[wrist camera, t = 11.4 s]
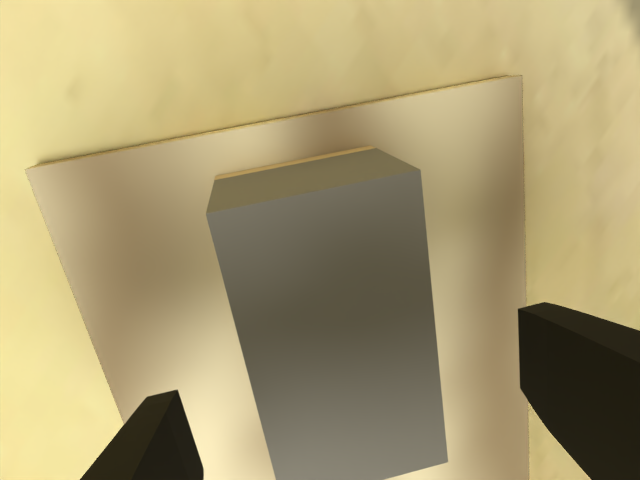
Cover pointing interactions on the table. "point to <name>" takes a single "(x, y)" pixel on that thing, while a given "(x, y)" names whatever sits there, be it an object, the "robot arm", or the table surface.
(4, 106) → the table surface
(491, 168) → the board
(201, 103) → the table surface
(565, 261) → the table surface
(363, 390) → the block
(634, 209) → the table surface
